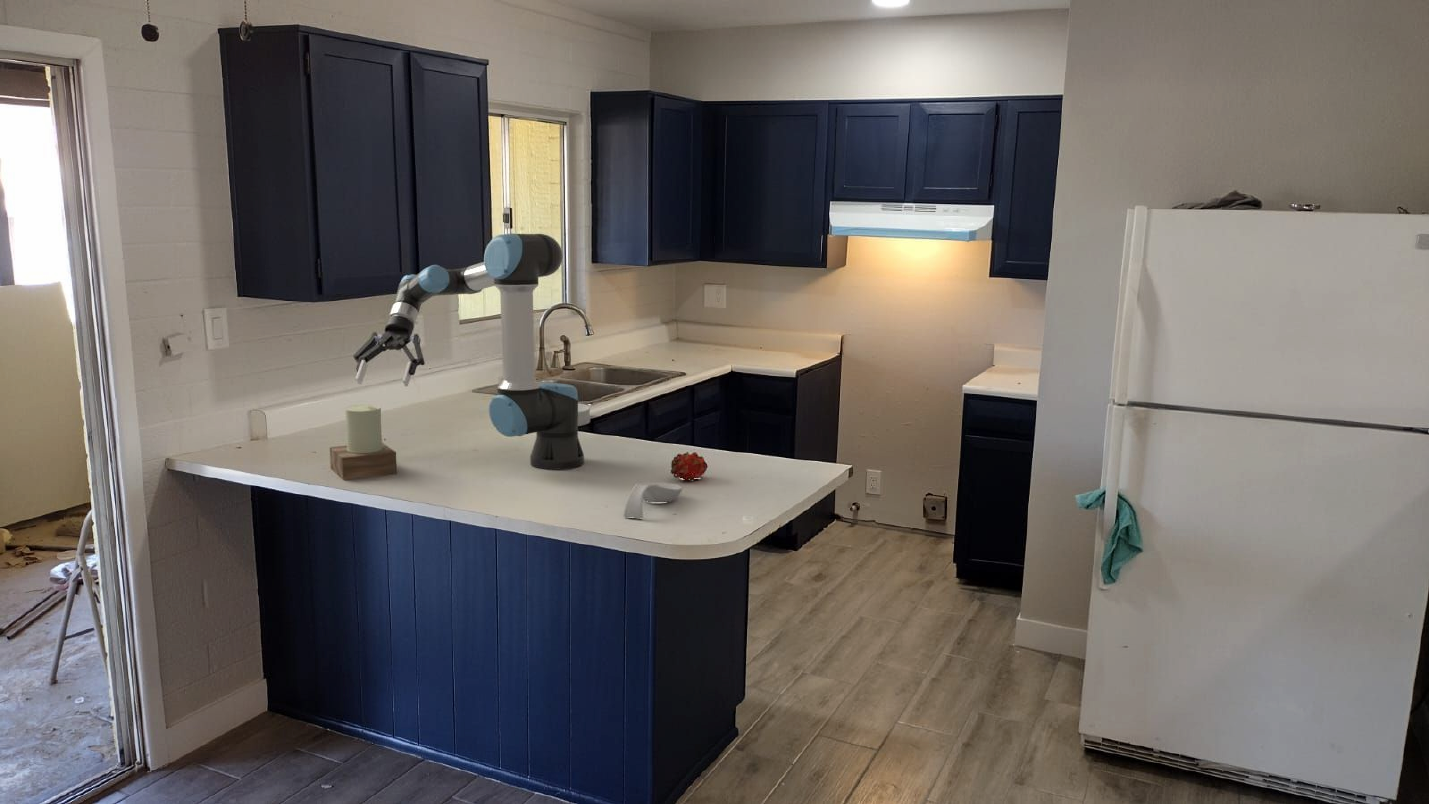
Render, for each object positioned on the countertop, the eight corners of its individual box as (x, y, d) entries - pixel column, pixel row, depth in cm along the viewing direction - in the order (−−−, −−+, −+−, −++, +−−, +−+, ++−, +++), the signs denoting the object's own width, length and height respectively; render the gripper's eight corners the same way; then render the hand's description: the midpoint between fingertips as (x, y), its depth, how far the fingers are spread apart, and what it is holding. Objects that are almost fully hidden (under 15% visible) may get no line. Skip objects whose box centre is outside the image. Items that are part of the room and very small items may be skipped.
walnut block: (396, 473, 276) (396, 452, 274) (343, 480, 268) (342, 457, 267) (382, 462, 287) (381, 442, 286) (330, 468, 280) (329, 447, 278)
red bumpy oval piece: (666, 488, 274) (702, 488, 281) (683, 475, 268) (720, 476, 275) (660, 459, 277) (695, 460, 284) (676, 446, 271) (712, 447, 278)
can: (371, 454, 271) (369, 410, 269) (340, 452, 273) (338, 408, 271) (389, 447, 280) (387, 404, 278) (358, 444, 282) (356, 402, 280)
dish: (541, 431, 335) (540, 416, 334) (514, 419, 353) (514, 405, 352) (601, 424, 347) (601, 410, 346) (573, 413, 365) (573, 400, 364)
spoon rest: (644, 493, 264) (644, 466, 262) (687, 497, 261) (688, 470, 259) (610, 518, 241) (610, 488, 240) (657, 523, 238) (657, 493, 237)
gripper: (446, 331, 298) (428, 391, 287) (364, 328, 301) (343, 388, 289) (439, 315, 292) (420, 376, 280) (355, 312, 294) (333, 373, 283)
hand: (381, 382), depth 285 cm, fingers open, 13 cm apart
